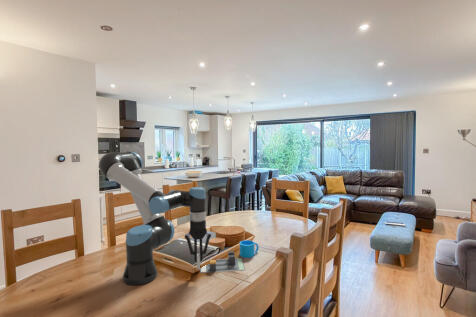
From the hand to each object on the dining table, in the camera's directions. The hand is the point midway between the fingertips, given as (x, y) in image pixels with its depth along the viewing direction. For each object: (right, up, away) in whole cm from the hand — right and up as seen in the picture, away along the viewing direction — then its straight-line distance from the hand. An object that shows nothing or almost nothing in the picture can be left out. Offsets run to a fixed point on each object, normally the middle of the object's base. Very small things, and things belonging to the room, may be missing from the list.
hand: (198, 267), depth 128 cm
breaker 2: (+16, -1, +7) cm, 17 cm away
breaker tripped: (+7, -1, +1) cm, 7 cm away
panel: (+11, -3, +6) cm, 13 cm away
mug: (+26, -2, +20) cm, 33 cm away
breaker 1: (+15, -1, +12) cm, 20 cm away
